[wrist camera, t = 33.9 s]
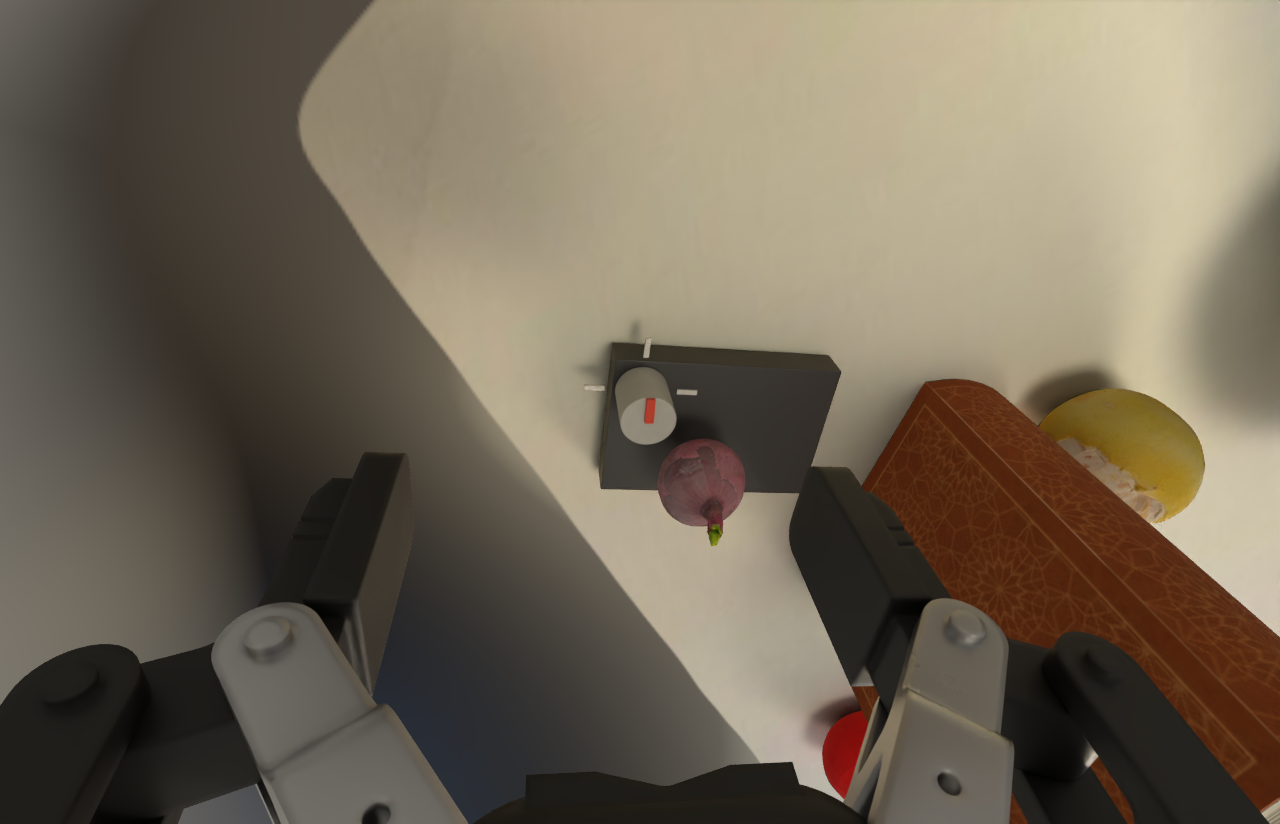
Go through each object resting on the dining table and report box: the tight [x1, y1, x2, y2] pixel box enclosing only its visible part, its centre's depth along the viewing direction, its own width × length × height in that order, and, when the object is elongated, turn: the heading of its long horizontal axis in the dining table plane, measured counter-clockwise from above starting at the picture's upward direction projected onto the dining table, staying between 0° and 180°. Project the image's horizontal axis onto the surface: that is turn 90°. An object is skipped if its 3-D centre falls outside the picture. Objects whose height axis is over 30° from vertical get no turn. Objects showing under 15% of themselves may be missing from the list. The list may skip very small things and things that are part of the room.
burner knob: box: [615, 367, 677, 445], centre depth 42 cm, size 4×4×4 cm
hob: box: [584, 338, 841, 493], centre depth 47 cm, size 18×13×3 cm
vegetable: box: [658, 439, 745, 546], centre depth 43 cm, size 6×6×10 cm
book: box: [852, 379, 1280, 824], centre depth 43 cm, size 23×8×30 cm, turn 162°
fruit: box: [1039, 389, 1205, 523], centre depth 49 cm, size 10×11×10 cm
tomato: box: [822, 711, 868, 799], centre depth 70 cm, size 10×10×10 cm
